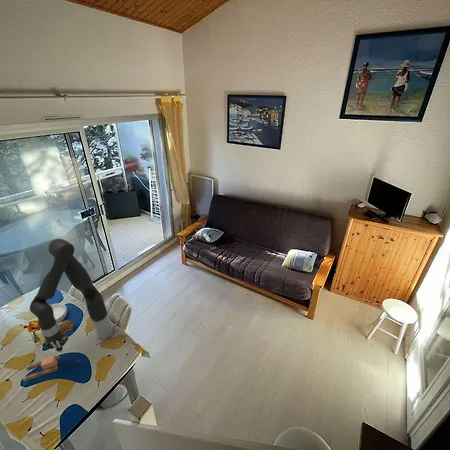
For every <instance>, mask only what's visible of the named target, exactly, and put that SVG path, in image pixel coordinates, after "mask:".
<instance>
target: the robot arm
mask: <svg viewBox="0 0 450 450" xmlns="http://www.w3.org/2000/svg"><path fill="white" fill-rule="evenodd" d="M48 252H49V254H50V255H51V256H53V258H54V259H53V260H54V261H53V264H52V267H51V268H50V270H49V271H48V273H47V274H46V275H45V276H44V278H43V280H42V281H41V284H40V286H39V290H38V292H37V294H36V295H35V296H34V298H33V299H32V301H31V302H30V305H29V311H30V312H31V314H33V315H34V316H35V317H36V318H37V323H38V326H39V329H40V331H41V334H42V335H43V337H44V339H45V340H43V342H42V343H41V344H42V347H44V348H47V349H51V350H53V349H54V350H56V352H58V353H60V352H62V351H63V349H64V347H63V346H65V344H66V343H67V341H68V340H69V338H70V337H69V334H66V335H65V334H62V332H61V330H60V327H59V325H58V323H57V322H56V320H55V317H54V312H53V308H52V307H51V305H52V304H49V303H48V302H47V301H48V300H50V299H53V298H54V296H55V294H56V293H57V289H58V286H59V283H60V281H61V278H62V276H63V274H65V275H66V278H67V279H68V280H69V282H70V284H72V286H73V287H74V288H75V289H76V290H78V291H79V292H80V293H81V294H82V296H83V297H84V301H85V305H86V309H87V313H88V314H89V315H88V316H89V317H90V319H91V321H92V325H93V327H94V330H95V333H96V336H97V337H98V339H99V340H106V339H109V338H110V337H111V336H113V335H114V327H113V323H112V321H111V318H110V317H109V314H108V313H109V312H108V311H107V307H106V303H105V301H104V298H103V295H102V294H101V292H100V291H99V290H98V289H97V288H96V286H95V285H94V283H93V280H92V278H91V276H90V275H89V273H88V271H87V270H86V268H85V267H84V266H83V264H81V263H80V261H78V259H77V258H75V255H74V253H75V247H74V245H73V244H71V242H69V241H67V240H66V239H63V238H55V239H53V240H51V241H50V242H49V244H48Z"/></svg>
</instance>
